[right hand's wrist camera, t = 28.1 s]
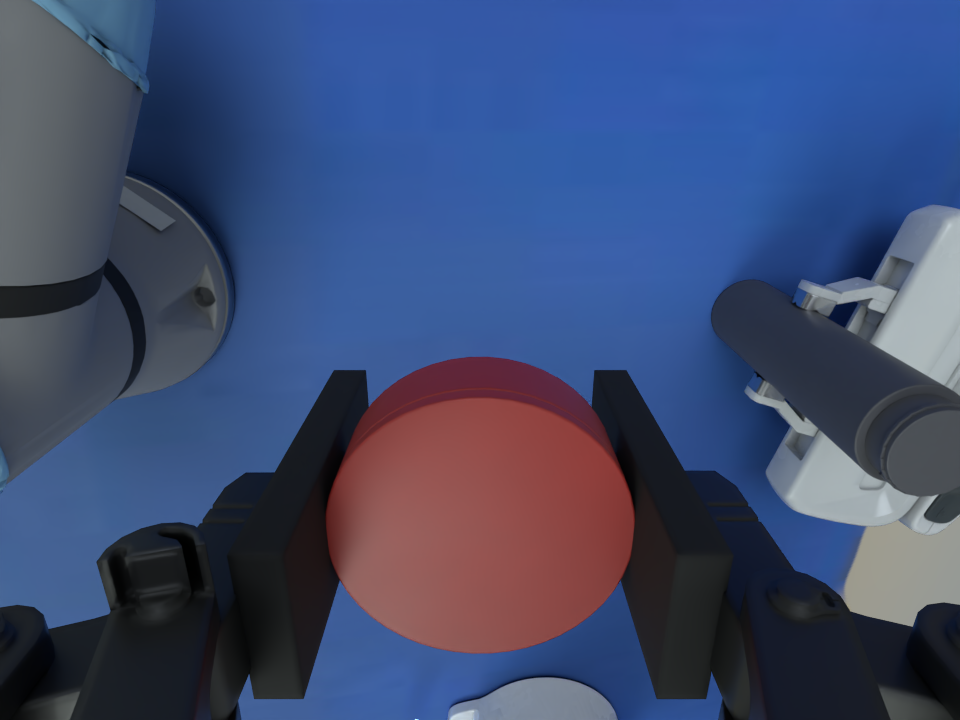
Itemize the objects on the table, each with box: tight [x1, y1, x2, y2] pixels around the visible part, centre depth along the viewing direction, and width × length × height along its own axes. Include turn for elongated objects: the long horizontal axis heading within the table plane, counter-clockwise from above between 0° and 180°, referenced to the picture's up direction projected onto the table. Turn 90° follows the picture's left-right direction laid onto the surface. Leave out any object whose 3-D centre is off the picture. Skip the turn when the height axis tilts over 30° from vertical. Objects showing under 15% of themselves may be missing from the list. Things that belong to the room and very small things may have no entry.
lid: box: [325, 357, 635, 653], centre depth 12 cm, size 6×6×2 cm
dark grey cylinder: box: [711, 280, 960, 497], centre depth 34 cm, size 5×5×20 cm
